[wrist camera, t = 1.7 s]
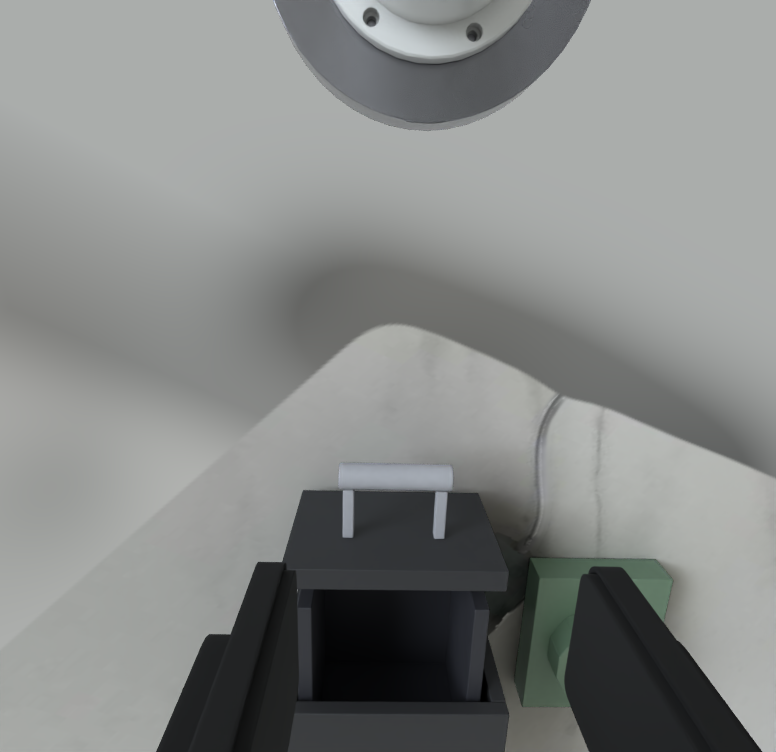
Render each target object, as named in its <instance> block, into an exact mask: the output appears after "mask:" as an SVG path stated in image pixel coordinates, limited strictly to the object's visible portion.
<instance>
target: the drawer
mask: <svg viewBox="0 0 776 752" xmlns="http://www.w3.org/2000/svg"><path fill="white" fill-rule="evenodd" d="M453 484H454V473H453V467H452V465H449V464H395V463H340V465H339V489H343V491H311V490H303V492H302V496H301V499H300V503H299V506H298V509H297V513H296V516H295V520H294V523H293V527H292V530H291V534H290V537H289V541H288V544H287V547H286V551H285V554H284V558H283V561H282V562H285V563H286V565H287V570H296V575H297V589H300V593H299V598H298V602H297V613H298V654H299V686H298V701H370V702H480V698H481V688H482V679H483V670H484V660H485V651H486V641H487V632H488V622H489V613H490V610H489V606H488V603H487V600H486V596H485V593H484V591H507V585H508V576H509V571H508V568H507V566H506V563H505V561H504V558H503V556H502V553H501V550H500V548H499V545H498V543H497V540H496V538H495V535H494V532H493V530H492V527H491V525H490V522H489V519H488V517H487V514H486V512H485V509H484V507H483V504H482V501H481V499H480V496H479V494H478V493H448V492H447V491H452V489H453ZM354 490H408V491H435V493H429V492H370V491H354Z"/></svg>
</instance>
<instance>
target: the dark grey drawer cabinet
mask: <svg viewBox="0 0 776 752" xmlns="http://www.w3.org/2000/svg"><path fill="white" fill-rule="evenodd" d="M299 593H300V589H298V591H297V602H298V598H299ZM508 720H509V712H508V709H507V705H506V703H505V698H504V694H503V690H502V687H501V683H500V679H499V676H498V672H497V668H496V665H495V661H494V657H493V654H492V650H491V646H490V643H489V639H488V636H487V641H486V651H485V660H484V670H483V679H482V688H481V698H480V702H370V701H298V695H297V701H296V707H295V713H294V718H293V724H292V730H291V736H290V742H289V747H288V752H505V744H506V736H507V728H508Z"/></svg>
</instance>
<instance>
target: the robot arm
mask: <svg viewBox="0 0 776 752" xmlns="http://www.w3.org/2000/svg"><path fill="white" fill-rule="evenodd" d="M333 1H334V2H335V4H336V6H337V7H338V9H339V10H340V12H341V14H342V15H343V17H344V18H345V19H346V20H347V21H348V22H349V23H350V25H351V26H352V27H353V28H354V29H355V30H356V31H357V33H358V34H360V35H361V36H362V37H363V38H365V39H366V40H367V41H369V42H370V43H371V44H372V45H374V46H375V47H376V48H378V49H380V50H382V51H384V52H386V53H388V54H390V55H392V56H394V57H396V58H399V59H403V60H407V61H411V62H415V63H427V64H442V63H447V62H452V61H458V60H462V59H464V58H467V57H469V56H472V55H474V54H476V53H479V52H481V51H483V50H484V49H486V48H487V47H489V46H490V45H492V44H493V43H495V42H496V41H498V40H499V39H501V38H502V37H503V36H504V35H505V34H506V33H507V32H508V31H509V30H510V29H511V28H512V27H513V26H514V25H515V24H516V23H517V22H518V20H519V19H520V18H521V16H522V15H523V13H524V12H525V11H526V9H527V8H528V7H529V5H530V4H531V2H532V0H333ZM370 19H373V20H375V22H376V25H375V26H374V27H369V26H368V25H367V21H368V20H370ZM469 34H474V35H475V37H476V40H475V41H474V42H472V41H470V40H469V39H468V36H467V35H469ZM564 685H565V691H566V695H567V698H568V701H569V703H570V706H571V708H572V711H573V713H574V716H575V718H576V720H577V723H578V725H579V728H580V730H581V733H582V735H583V738H584V740H585V743H586V745H587V747H588V750H589V752H762V751H761V749H760V748H759V747H758V745H757V744H756V743H755V741H754V740H753V739H752V737H751V736H750V735H749V733H748V732H747V731H746V729H745V728H744V727H743V725H742V724H741V722H740V721H739V720H738V718H737V717H736V716H735V714H734V713H733V712H732V710H731V709H730V708H729V706H728V705H727V704H726V702H725V701H724V700H723V698H722V697H721V696H720V694H719V693H718V692H717V690H716V689H715V687H714V686H713V685H712V683H711V682H710V681H709V679H708V678H707V677H706V675H705V674H704V673H703V671H702V670H701V669H700V667H699V666H698V665H697V663H696V662H695V661H694V659H693V658H692V656H691V655H690V654H689V652H688V651H687V650H686V649H685V647H684V646H683V645H682V644H681V643H680V642H679V641H677V640H676V639H675V638H674V636H673V635H672V633H671V632H670V631H669V629H668V628H667V627H666V625H665V624H664V623H663V621H662V620H661V618H660V617H659V616H658V614H657V613H656V612H655V610H654V609H653V608H652V606H651V605H650V603H649V602H648V601H647V599H646V598H645V597H644V595H643V594H642V593H641V591H640V590H639V589H638V587H637V586H636V584H635V583H634V582H633V580H632V579H631V578H630V576H629V575H628V574H627V572H626V571H625V570H624V569H623V568H621V567H606V566H593V567H591V568H590V570H589V572H588V574H583V575H582V576H581V579H580V584H579V590H578V596H577V602H576V608H575V615H574V621H573V627H572V633H571V639H570V645H569V651H568V657H567V663H566V669H565V676H564ZM298 686H299V654H298V613H297V575H296V570H287V565H286V563H285V562H258V563H257V565H256V567H255V570H254V572H253V575H252V578H251V580H250V583H249V586H248V589H247V591H246V594H245V597H244V600H243V602H242V605H241V608H240V611H239V613H238V616H237V619H236V621H235V624H234V627H233V630H232V632H231V635H226V634H209V635H208V636H207V637H206V638H205V640H204V642H203V644H202V646H201V648H200V650H199V653H198V655H197V657H196V660H195V662H194V664H193V667H192V669H191V672H190V674H189V676H188V679H187V681H186V683H185V686H184V688H183V690H182V693H181V695H180V697H179V700H178V702H177V704H176V707H175V709H174V711H173V714H172V716H171V718H170V721H169V723H168V725H167V728H166V730H165V732H164V735H163V737H162V739H161V742H160V744H159V747H158V749H157V751H156V752H288V747H289V742H290V736H291V730H292V724H293V718H294V713H295V707H296V701H297V695H298Z"/></svg>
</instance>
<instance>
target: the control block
mask: <svg viewBox="0 0 776 752" xmlns="http://www.w3.org/2000/svg"><path fill="white" fill-rule="evenodd" d="M593 566H606V567H621V568H623V569H624V570H625V571H626V572H627V574H628V575H629V576H630V578H631V579H632V580H633V582H634V583H635V584H636V586H637V587H638V589H639V590H640V591H641V593H642V594H643V595H644V597H645V598H646V599H647V601H648V602H649V603H650V605H651V606H652V608H653V609H654V610H655V612H656V613H657V614H658V616H659V617H660V618H661V620H662V621H663V623H664V618H665V614H666V610H667V605H668V601H669V596H670V592H671V587H672V583H673V579H672V578H671V577H670V576H669V574H668V573H667V572H666V571H665V570H664V569H663V567H662V566H661V565H660V564H659V563H658V562H657V560H655V559H593V558H530V562H529V570H528V578H527V585H526V593H525V601H524V609H523V617H522V624H521V632H520V640H519V648H518V655H517V663H516V671H515V679H514V682H515V685H516V688H517V692H518V695H519V698H520V701H521V705H522V707H571V706H570V703H569V701H568V698H567V695H566V691H565V685H564V676H565V669H566V663H567V657H568V651H569V645H570V639H571V633H572V627H573V621H574V615H575V608H576V602H577V596H578V590H579V584H580V579H581V576H582V575H583V574H588V572H589V570H590V568H591V567H593Z"/></svg>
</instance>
